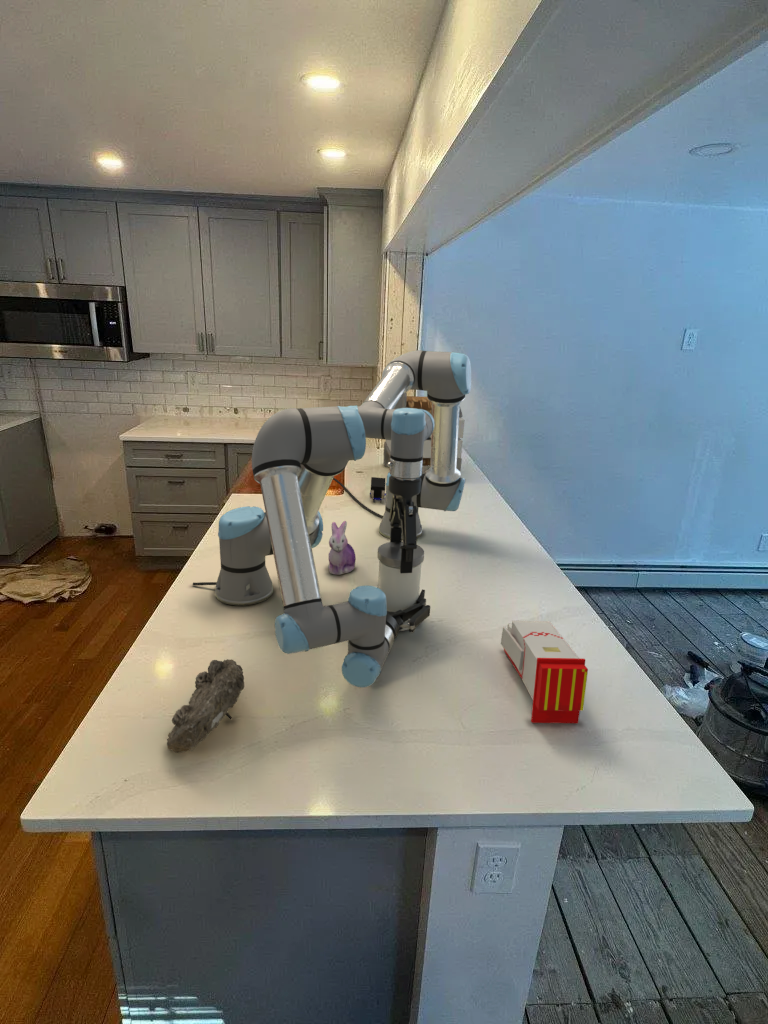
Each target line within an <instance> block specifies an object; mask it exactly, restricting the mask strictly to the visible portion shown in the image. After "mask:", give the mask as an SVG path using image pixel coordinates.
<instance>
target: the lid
mask: <svg viewBox="0 0 768 1024" xmlns="http://www.w3.org/2000/svg"><path fill="white" fill-rule="evenodd" d="M400 546H403V541H402V540H401V541H395V542H390V541H389V542H385V543H381V544H380V545H379V546H378V547H377V560H378V562H379V561H380V562H382V563H384V564H386V565H389V566H393V567H400V566H401V549H400ZM424 559H425V550H424V548H423V547H422V546H420V545H418V544H417V548H416V549H414V550H413V566H417V565H419V564H421V565H422V563H424ZM413 566H412V567H413Z"/></svg>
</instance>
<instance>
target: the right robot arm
mask: <svg viewBox="0 0 768 1024" xmlns="http://www.w3.org/2000/svg"><path fill="white" fill-rule="evenodd" d="M412 390H413V391H423V392H425V391H426V397H427V398H428V399H429V400H430V401H431V402H432V415H431V414H430V413H429V412H428V411H426V410H423V409H415V408H400V409H396V410H394V407H395V406H396V404H397V403H398V401H399V399H400V398H401V396H402V395H403V393H408V392H409V391H412ZM471 390H472V365H471V360H470V357H469V355H467V354H466V353H461V352H455V351H437V350H436V351H434V350H419V349H418V350H417V349H416V350H412V351H407V352H405V353H403V354H401V355H399V356H397V357H395V358H394V359H392V360H391V361H390V362H388V363H387V365H386V366H385V367H384V368H383V370H382V374H381V378H380V380H378V382H377V383H376V385H375V386H374V387H373V389H372V390H371V391H370V393H369V394H368V396H367V397H366V398H365V399H364V400H363V402H362V403H361V404H360V405H357V404H356V405H348V406H347V407H352V408H354V409H355V410H357V412H358V413H359V415H360V417H361V419H362V422H363V425H364V429H365V437H366V439H374V440H384V441H385V440H391V453H390V460H391V461H390V462H389V463H388V466H389V467H388V468H389V472H388V473H387V475H386V481H385V494H386V495H385V504H384V505H385V507H384V508H385V509H384V513H383V515H382V514H380V513H378V512H376V511H374V510H373V509H371V508H370V507H368V506H366V505H365V504H364V503H362V502H361V501H360V500H358V499H357V497H355V496H354V494H353V493H351V491H350V490H349V489H348V488H347V487H346V486H345V485H344V484H343V483H342V482H341V481H340V480H338V479H337V478H335V477H334V478H333V480H332V481H335V482H336V483H337V484H338V485H340V486H341V487H342V488H343V490H345V492H347V494H348V495H349V496H350V497H351V498H352V499H353V500H354V501H355V502H356V503H357V504H358V505H360V506H361V507H362V508H364V509H365V510H367V511H368V512H370V514H372V515H375V516H376V517H378V518H381V522H379V527H378V533H379V534H380V535H381V536H382V537H385V538H387V539H389V542H395V541H401V542H403V546H400V549H401V566H400V573H412V566H413V550H414V549H416V548H417V545H418V544H417V541H418V540H417V539H418V538H420V537H421V536H422V535H423V525H422V524H421V518H420V515H419V508H422V509H428V510H429V509H430V510H437V511H443V512H456V511H458V510H459V508H460V504H461V501H462V498H463V497H462V496H463V493H464V488H465V484H466V479H465V478H464V477H461V475H462V474H460V471H459V470H458V469H457V468H456V466H457V447H458V428H459V409H460V408H461V403H462V402H463V401H464V400H465V399H466V395H468V394H470V393H471ZM430 436H431V463H430V466H429V468H428V469H427V470H426V471H425V473H423V466H422V465H423V446H424V441H425V440H426V439H428V438H429V437H430Z"/></svg>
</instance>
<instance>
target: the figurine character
mask: <svg viewBox="0 0 768 1024" xmlns="http://www.w3.org/2000/svg"><path fill="white" fill-rule="evenodd" d="M369 490H370V491H369V498H370V500H372V502H373V503H376V501H379V503H380V504H381V503H382V502H383V500H385V499H386V477H376V476H371V478H370V489H369Z"/></svg>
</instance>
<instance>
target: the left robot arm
mask: <svg viewBox="0 0 768 1024" xmlns="http://www.w3.org/2000/svg"><path fill="white" fill-rule="evenodd" d="M252 447H253V448H252V450H251V451H252V452H251V453H252V454H251V468H252V469H251V471H252V474H253V479H254V481H255V482H257V483H258V484H260V490H261V495H262V500H263V501H262V502H263V506H264V509H262V508H261V507H259V506H249V505H247V506H241V507H237V508H233V509H230V510H228V511H226V512H225V513H224V514H223V515H221V516H220V518H219V520H218V531H217V536H218V540H219V541H218V542H219V543H218V544H219V558H220V559H219V560H220V569H219V573H218V577H217V580H216V581H205V582H204V581H203V582H201V581H199V582H192V586H215V589H214V593H215V598H216V599H217V600H218V601H219V602H221V603H222V604H225V605H230V606H237V607H243V606H245V607H246V606H252V605H256V604H259V603H262V602H264V601H266V600H268V599H269V598H270V597H271V596H273V593H274V586H273V581H272V579H271V576H270V574H269V573H270V572H269V570H268V568H267V566H266V557H268V556H273V560H274V564H275V571H276V576H277V580H278V586H279V591H280V595H281V596H280V597H281V601H282V602H281V603H282V609H283V613H282V614H279V615H277V616H276V617H275V619H274V635H275V639H276V643H277V645H278V648H279V650H280V651H281V652H282V653H283V654H287V655H290V654H296V653H301V652H309V651H311V650H314V649H318V648H322V647H326V646H330V645H335V644H339V643H345V642H347V653H346V655H345V656H344V658H343V662H342V665H341V673H342V676H343V678H344V679H345V681H346V682H347V683H348V684H350V685H352V686H353V687H357V688H367V687H370V686H372V685H373V684H374V683H375V682H376V680H377V678H378V677H379V676H380V674H381V673H382V669H383V667H384V664H385V662H386V660H387V658H388V657H389V653H390V651H391V649H392V647H393V645H394V643H395V641H396V639H397V637H398V634H399V633H400V632H401V631H400V630H401V629H403V628H407V629H408V632H409V633H414V632H415V630H416V628H417V627H418V626H419V625H420V624H421V623H423V622H424V621H425V620H426V619H427V618H429V617H430V616H431V604H427V599H426V598H425V594H426V590H425V589H421V591H420V592H419V597H418V599H417V603H416V605H414V606H411V607H409V608H407V609H405V610H398V611H396V612H389V611H387V602H386V595H385V593H384V592H383V591H382V590H381V589H379V588H378V586H375V585H359V586H356V587H355V588H352V589H351V590H350V592H349V595H348V598H347V601H343V602H338V603H333V604H327V605H324V604H323V598H322V592H321V588H320V583H319V579H318V573H317V568H316V563H315V558H314V552H313V549H314V548H316V547H318V546H319V544H320V543H321V541H322V539H323V535H324V533H323V531H324V521H323V517H322V515H321V512H320V511H319V510H320V509H321V506H322V504H323V503H324V499H325V497H326V495H327V493H328V490H329V489H330V487H331V484H332V482H333V481H334V480H333V478H335V477H336V476H338V475H340V474H342V472H343V471H344V470H345V469H346V467H347V465H348V463H349V461H355V462H356V461H358V460H362V459H363V457H364V456H365V453H366V449H367V438H366V437H365V429H364V425H363V422H362V419H361V417H360V415H359V413H358V412H357V410H355V409H354V408H352V407H348V406H340V405H337V406H319V407H304V408H303V407H299V408H295V407H290V408H284V409H281V410H279V411H277V412H275V413H273V414H272V415H271V416H270V417H268V418H267V419H266V420H265V422H264V423H263V424H262V425H261V428H260V429H259V431H258V433H257V435H256V437H255V439H254V442H253V446H252ZM407 620H408V621H407ZM405 621H407V622H405Z"/></svg>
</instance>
